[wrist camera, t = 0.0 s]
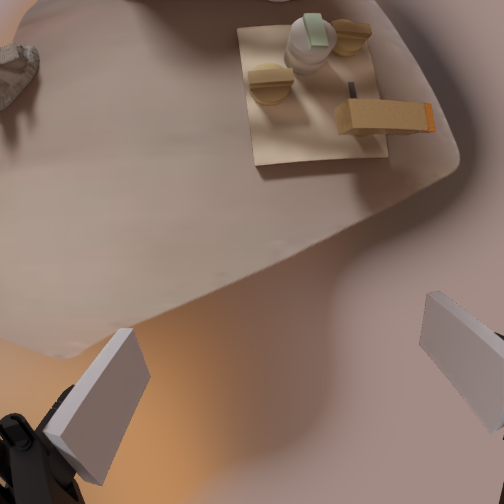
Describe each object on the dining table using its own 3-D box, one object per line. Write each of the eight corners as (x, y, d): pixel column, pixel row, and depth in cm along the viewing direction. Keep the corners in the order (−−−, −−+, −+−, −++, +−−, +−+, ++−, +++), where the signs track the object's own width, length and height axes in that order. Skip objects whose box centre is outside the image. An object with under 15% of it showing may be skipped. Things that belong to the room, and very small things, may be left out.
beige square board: (237, 34, 31) (231, -8, 21) (358, 33, 31) (387, -2, 20) (255, 166, 36) (255, 161, 26) (382, 157, 36) (424, 154, 25)
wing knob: (324, 116, 32) (348, 98, 23) (392, 117, 32) (430, 103, 23) (327, 140, 33) (352, 128, 24) (396, 139, 33) (435, 131, 23)
